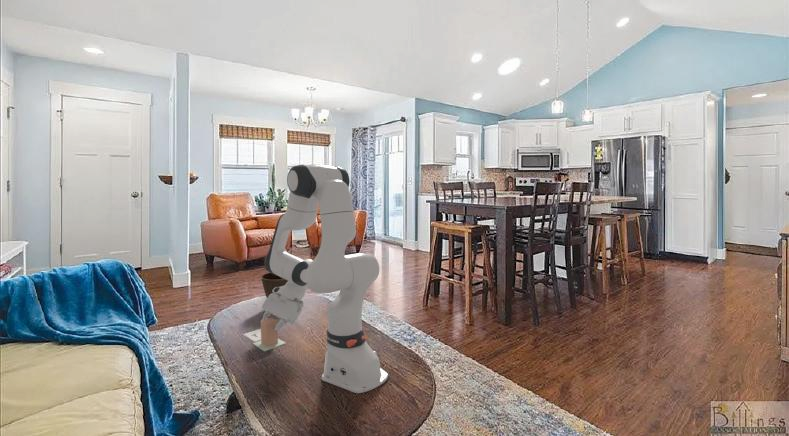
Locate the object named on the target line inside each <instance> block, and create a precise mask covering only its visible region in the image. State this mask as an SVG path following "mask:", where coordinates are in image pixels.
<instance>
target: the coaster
mask: <svg viewBox="0 0 789 436" xmlns="http://www.w3.org/2000/svg"><path fill="white" fill-rule="evenodd" d="M286 344H287V342H286V341H284V340H281V339H280V338H278V343H277V344H274V345H271V346H268V347H267V346H265V345H263V344H262V343H261V340H258V341H255V342H253V343H252V345H253V346H255V347H256V348H258V349H259V350H261V351H262V352H267V351H270V350H273V349H275V348H278V347H281V346H284V345H286Z"/></svg>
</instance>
